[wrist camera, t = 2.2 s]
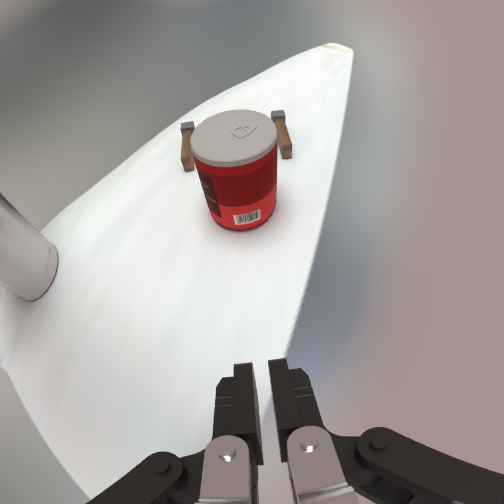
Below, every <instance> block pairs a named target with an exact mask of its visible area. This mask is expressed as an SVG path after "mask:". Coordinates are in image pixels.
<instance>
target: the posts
mask: <svg viewBox="0 0 504 504" xmlns="http://www.w3.org/2000/svg"><path fill="white" fill-rule="evenodd" d="M275 119H284V122H285V113H284V111H283V110H279V111H271V120H272V121H273V122H274V123H275ZM188 130H192V133H193V131H194V130H195V127H194V123H193V121H191V122H185V123H181V133H182V136H183V131H188Z"/></svg>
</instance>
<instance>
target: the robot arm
mask: <svg viewBox="0 0 504 504" xmlns="http://www.w3.org/2000/svg"><path fill="white" fill-rule="evenodd" d="M57 264H58V254H57V250H56V248H55V246H54V245H53V244H52V243H51V242H50V241H49V240H48V239H46V238H45V237H44V236H43V235H42V234H41V233H40V232H39V231H38V230H37V229H36V228H35V227H34V226H33V225H32V224H31V223H30V222H29V221H28V220H26V219H25V218H24V217H23V216H22V215H21V214H20V213H19V212H18V211H17V210H16V209H15V208H14V207H13V205H11V203H10V202H9V201H8V200H7V199H6V198H5V197H4V196H3V195H2V194H1V193H0V285H1V286H3V287H4V288H6V289H7V290H9V291H11V292H12V293H14V294H16V295H17V296H19V297H21V298H23V299H24V300H27V301H33V300H35V299H37V298H39V297H40V296H42V295H43V294H44V293H45V292H46V290H47V289H48V288H49V286H50V284H51V283H52V281H53V278H54V276H55V273H56V269H57ZM268 366H269V374H270V383H271V391H272V398H273V405H274V412H275V420H276V427H277V434H278V441H279V448H280V454H281V462H282V463H283V462H287V464H288V469H289V479H290V485H291V490H292V495H293V500H294V504H359V502H358V499H357V496H356V493H355V492H357V493H358V494H360V495H362V496H364V497H365V498H367V499H369V500H371V501H372V502H374V503H376V504H504V475H503V474H500V473H497V472H494V471H491V470H488V469H485V468H482V467H479V466H476V465H473V464H470V463H467V462H465V461H462V460H459V459H457V458H454V457H452V456H449V455H447V454H444V453H441V452H439V451H437V450H435V449H432V448H430V447H427V446H425V445H423V444H421V443H418V442H416V441H414V440H412V439H410V438H407V437H405V436H403V435H401V434H399V433H397V432H394V431H393V430H390V429H388V428H385V427H375V428H372V429H369V430H367V431H365V432H364V433H363V434H362V435H361V436H360V437H349V436H338V435H335V434H333V433H331V432H329V431H328V430H327V429H326V428H325V426H324V425H323V422H322V419H321V416H320V412H319V409H318V406H317V402H316V399H315V396H314V392H313V389H312V387H311V383H310V379H309V376H308V375H307V374H306V373H305V372H304V371H303V370H302V369H301V368H298V369H291V370H289V369H288V365H287V360H286V358H281V359H274V360H268ZM257 465H263V453H262V441H261V430H260V418H259V406H258V396H257V389H256V383H255V376H254V370H253V364H252V362H250V363H241V364H234V377H224V378H222V379H221V380H220V382H219V384H218V385H217V387H216V399H215V410H214V424H213V436H212V440H211V442H210V443H209V444H208V445H207V447H206V448H205V449H204V450H202V451H201V452H199V453H196V454H193V455H189V456H185V457H181V458H178V457H177V456H176V455H175V454H173V453H170V452H156V453H153V454H151V455H150V456H148V457H147V458H146V459H144V460H143V461H142V462H141V463H140V464H138V465H137V466H136V467H135V468H133V469H132V470H131V471H130V472H128V473H127V474H126V475H124V476H123V477H122V478H121V479H119V480H118V481H117V482H115V483H114V484H113V485H111V486H110V487H109V488H107V489H106V490H104V491H103V492H102V493H100V494H99V495H98V496H96V497H95V498H93V499H92V500H90V501H89V502H88V503H86V504H259V497H258V467H257Z"/></svg>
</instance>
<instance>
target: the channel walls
mask: <svg viewBox="0 0 504 504" xmlns="http://www.w3.org/2000/svg"><path fill="white" fill-rule="evenodd" d="M275 126H276V129H277V141H278V144H279V148H280V152H281V155H282V159H287V158H291V154H292V143H291V140H290V137H289V134H288V131H287V128H286V125H285V122H284V119H275ZM191 135H192V130H188V131H183V139H182V150H181V161H182V164H183V167H184V170H185V172H186V171H192V170H194V158H193V154H192V150H191V142H190V139H191Z"/></svg>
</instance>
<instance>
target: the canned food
mask: <svg viewBox="0 0 504 504" xmlns="http://www.w3.org/2000/svg"><path fill="white" fill-rule="evenodd" d="M190 142H191V150H192V154H193V158H194V161H195V165H196V168H197V171H198V175H199V178H200V181H201V185H202V188H203V191H204V194H205V198H206V201H207V204H208V207H209V210H210V213H211V215H212V217H213V218H214V219H215V220H216V221H217V222H218V223H219V224H220V225H222V226H223V227H225V228H228V229H231V230H238V231H239V230H248V229H252V228H255V227H257V226H259V225H261V224H262V223H263V222H265V221H266V220H267V219H268V218H269V216H270V215H271V213H272V211H273V209H274V207H275V204H276V189H277V149H278V146H277V129H276V126H275V123H274V122H273V121H272V120H271V119H270V118H269V117H268V116H266V115H264V114H262V113H259V112H256V111H251V110H231V111H225V112H222V113H218V114H216V115H213V116H211V117H209V118H207V119H206V120H204V121H203V122H202V123H200V124H199V125H198V126H197V127H196V128H195V130H194V131H193V133H192V135H191V139H190Z"/></svg>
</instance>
